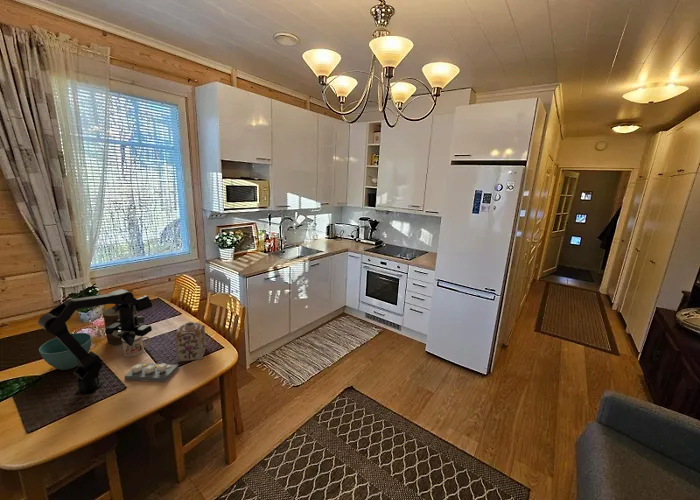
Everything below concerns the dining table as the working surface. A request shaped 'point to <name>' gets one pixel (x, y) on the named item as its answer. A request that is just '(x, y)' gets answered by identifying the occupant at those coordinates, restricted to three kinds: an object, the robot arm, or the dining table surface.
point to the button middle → (149, 369)
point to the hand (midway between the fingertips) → (131, 345)
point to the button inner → (137, 368)
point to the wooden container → (109, 319)
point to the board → (155, 375)
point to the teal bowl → (63, 351)
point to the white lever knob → (161, 368)
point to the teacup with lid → (134, 346)
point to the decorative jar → (190, 342)
